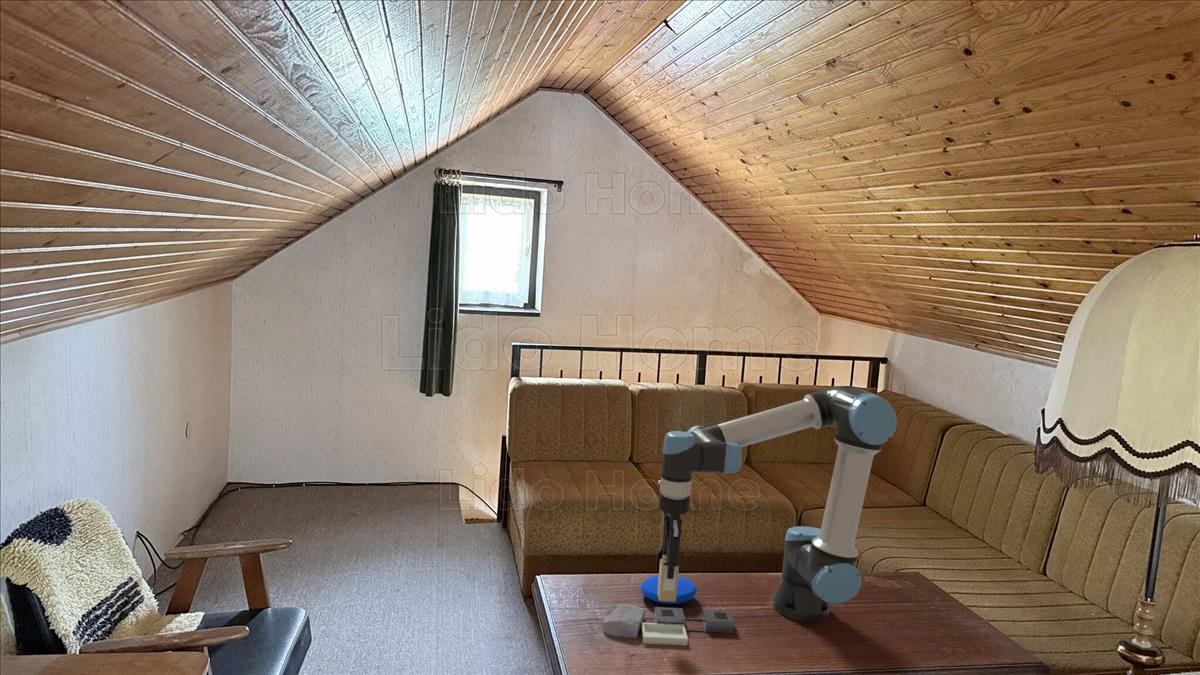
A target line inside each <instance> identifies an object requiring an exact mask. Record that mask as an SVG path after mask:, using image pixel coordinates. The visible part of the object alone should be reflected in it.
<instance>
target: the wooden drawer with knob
mask: <svg viewBox="0 0 1200 675" xmlns="http://www.w3.org/2000/svg"><path fill="white" fill-rule="evenodd" d="M663 562H664V563H666V559H662V558H659V566H658V567H659V570H658V575H659V579H658V591H657V594H658V598H659V601H670V602H676V596H677V584H678V576H679V573H680V572H679V571H680V570H679V568H680V566H679V565H678V567H676V575H675V587H674V591H671V590H663V582H664V570H665V566H663Z"/></svg>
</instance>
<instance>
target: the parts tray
mask: <svg viewBox="0 0 1200 675" xmlns="http://www.w3.org/2000/svg"><path fill="white" fill-rule="evenodd" d="M685 629H686V625H685V626H684V624H665V623H655V622H644V621H643V622H641V629H640V634H641V638H642V644H644V645H667V646H669V645H670V646H684V647H686V646H687V647H688V642H689V638H688V633H687V631H686V630H685Z"/></svg>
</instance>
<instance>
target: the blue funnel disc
mask: <svg viewBox="0 0 1200 675" xmlns="http://www.w3.org/2000/svg"><path fill="white" fill-rule="evenodd" d="M658 579H659V574H657V575H653V576H649V577H648V578H645V580H643V582H642V583H641V584H640V590H641V593H642V595H643V596H644V597H646V598H647V599H648V600H651V601H653V602H656V603H658V604H659V603H660V604H664V605H677V604H682V603H685V602H688V601H690V600H692V599H694V597H695V596H696V594H697V591H698V590H697V589H698V588H697V586H696V585H695V583H694V582H693V581H692V580H690V579H688V578H686V577H683V576H679V575H678V584H677V596H676V602H670V601H659V598H658V594H657V591H658Z"/></svg>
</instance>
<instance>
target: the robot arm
mask: <svg viewBox="0 0 1200 675" xmlns="http://www.w3.org/2000/svg"><path fill="white" fill-rule="evenodd" d="M897 418H898V417H897V414H896V411H895V409H894V407H893V406H892V405H891V403H890V402H889V401H888V400H886V399H885V398H883V397H881V396H879V395H878V394H877V393H876V394H875V393H872V392H870V391H867V390H864V389H861V388H858V387H856V386H852V385H839V386H833V387H829V388H826V389H822V390H818V391H814V392H812V393H809V394H808V393H807V394H805V395H804V397H803V398H802V399H801V400H798V401H794V402H791V403H786V404H784V405H781V406H777V407H774V408H770V409H767V410H763V411H760V412H757V413H753V414H750V415H746V416H743V417H739V418H735V419H732V420H729V421H726V422H722V423H719V424H715V425H714V424H713V425H710V426H707V427H705V426H703V425H695V426H692V427H690V428H689V429H688V430H687V431H681V430H672V431H669V432H667V433H665V435H664V438H663V439H664V440H663V445H662V446H663V447H662V449H661V450H662V458H661V474H660V475H661V476H660V479H661V480H658V481H657V484H658V485H660V488H659V492H660V493H659V497H658V509H659V510H660V511H661V512H662V513H663V514H664V515H663V521H664V522H663V532H662V533H663V534H662V545H661V548H662V554H663V555H662V558H661V559H666V563H664V562H663V566H665V570H664V582H663V590H671V591H674V587H675V575H676V567H678V566H679V555H680V546H681V545H680V544H681V543H680V542H681V534H682V532H683V531H682V526H683V525H682V524H683V522H682V519H681V516H682V515H685V514H687V513H689V511H690V501H691V498H690V496H691V491H692V484H693V482H692V481H693V479H692V478H693V473H711V474H712V473H713V474H714V473H715V474H733V473H734V474H735V473H738V472H739V471H740V470H741V468H742V465H743V452H742V448H743V447H747V446H750V445H754V444H757V443H761V442H764V441H767V440H771V439H775V438H778V437H782V436H785V435H789V434H791V433H795V432H799V431H802V430H806V429H808V428H814V429H815V430H819V429H822V428H828V427H829V428H830V427H831V428H832V427H833V428H836V429H835V433H834V437H833V440H834V441H835V443H836V445H837V447H838V448H837V453H836V458H835V463H834V467H833V471H832V476H831V481H830V486H829V489H828V490H829V491H828V495H827V498H826V499H827V500H826V503H825V507H824V508H825V509H824V513H823V517H822V523H821V528H818V527H812V526H806V525H805V526H802V525H801V526H792V527H790V528H788V529H787V530H786V532H785V539H784V548H783V550H784V551H783V561H782V572H781V573H782V574H781V578H780V581H779V583H778V585H777V588H776V589H775V592H774V593H773V597H772V607H773V608H774V609H775V611H777V612H778V614H780V615H781V616H784V617H786V618H789V619H791V620H795V621H797V622H798V621H799V622H803V623H817V622H823V621H825V620H826V619H827V618H828V617H829V615H830V604H831V605H841V604H845V603H847V602H848V601H849V600H852V599H853V598H855V596H856V595H857V594H858V593H859V591H860V589H861V587H862V586H861V585H862V577H861V573H860V571H859V570H858V568H857V562H858V558H859V551H858V549H857V548H856V546H855V541H856V538H857V537H856V536H857V533H858V529H859V528H858V527H859V524H860V519H861V515H862V511H863V510H862V509H863V505H864V501H865V497H866V492H867V488H868V482H869V478H870V474H871V469H872V464H873V461H874V456H875V455H876V454H878V453H879V452H881V451H882V450H883V447H884V446H883V445H884V443H887V442H888V440H889V439H891V438H892V437H893V435H894V434H895V432H896V430H897V422H898V421H897Z"/></svg>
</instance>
